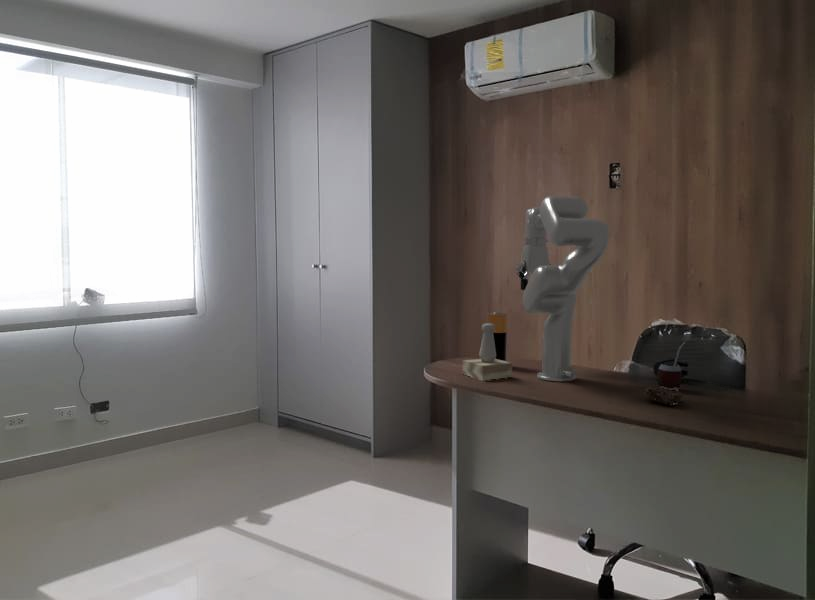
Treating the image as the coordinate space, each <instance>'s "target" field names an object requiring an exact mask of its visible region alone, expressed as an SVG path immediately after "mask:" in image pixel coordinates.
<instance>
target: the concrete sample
mask: <svg viewBox="0 0 815 600" xmlns="http://www.w3.org/2000/svg"><path fill="white" fill-rule="evenodd" d="M683 395H684V394H683V393H682V392H680V391H672V390H669V389H664V388H662V389H661V388H658V387H650V386H648V387H647V388H645V392H644V396H645V397H646V398H647V399H649V400H652V401H655V402H659V403H662V402H663V404H665V405H668V404H673V403H677V402H681V401H682V398H683ZM655 399H656V400H655ZM680 400H681V401H680Z"/></svg>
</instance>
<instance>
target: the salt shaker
mask: <svg viewBox="0 0 815 600" xmlns="http://www.w3.org/2000/svg"><path fill="white" fill-rule="evenodd" d="M481 330H482V331H483V334H482V339H481V343H480V349H479V353H478V356H479V359H481V361H482V362H485V363H492V362H494V360H495V358H496V349H495V343H494V336H493V331H494V330H495V326H494V325H493V324H489V323H483V324H482V326H481Z"/></svg>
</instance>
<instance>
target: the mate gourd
mask: <svg viewBox="0 0 815 600" xmlns="http://www.w3.org/2000/svg"><path fill="white" fill-rule="evenodd" d="M686 342H687V341H684V342H683V343H682V344H681V345H680V346H679V347H678V348H677V351H676V356H675V358H676V359H675V363H674V364H670V363H664V364H661V365H660V367H659V369H658V377H657V382H658V386H664V387H667V388H674V387H677V388H679V389H680V387H681V383H682V381H681V380H682V371H681V370H682V368H681V367H680V366H679V365H677V364H676V363H677V359H678V360H679V355H680V352H681V349H682V348H683V346H684V345H685V344H686Z"/></svg>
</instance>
